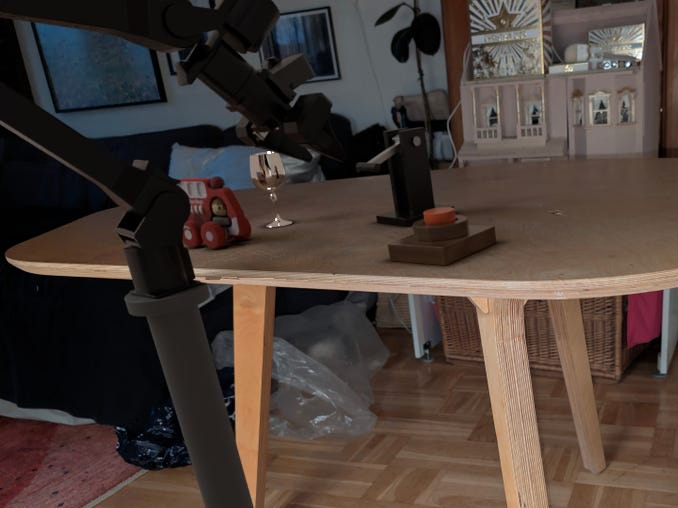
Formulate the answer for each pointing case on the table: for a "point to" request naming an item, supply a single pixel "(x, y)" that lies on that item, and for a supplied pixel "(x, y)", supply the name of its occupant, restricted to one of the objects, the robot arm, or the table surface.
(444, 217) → the button
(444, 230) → the button block
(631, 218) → the table surface
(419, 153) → the bracket
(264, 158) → the wineglass
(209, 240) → the toy fire truck
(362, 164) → the lever
